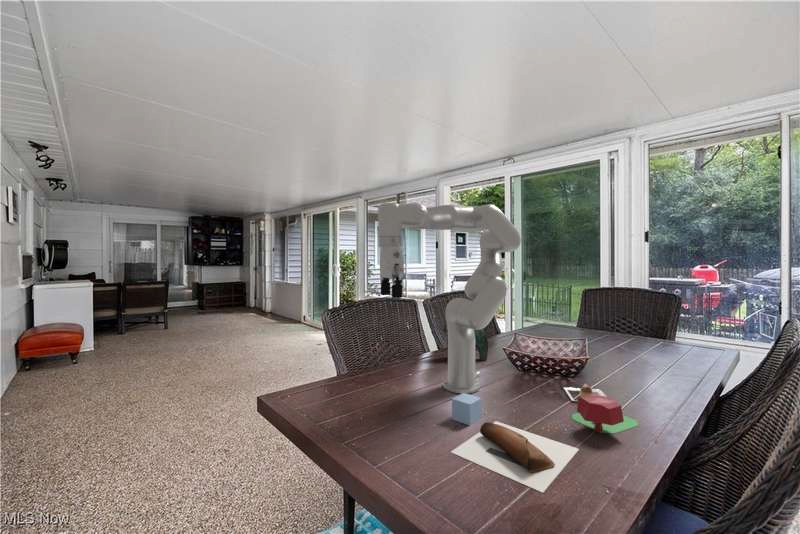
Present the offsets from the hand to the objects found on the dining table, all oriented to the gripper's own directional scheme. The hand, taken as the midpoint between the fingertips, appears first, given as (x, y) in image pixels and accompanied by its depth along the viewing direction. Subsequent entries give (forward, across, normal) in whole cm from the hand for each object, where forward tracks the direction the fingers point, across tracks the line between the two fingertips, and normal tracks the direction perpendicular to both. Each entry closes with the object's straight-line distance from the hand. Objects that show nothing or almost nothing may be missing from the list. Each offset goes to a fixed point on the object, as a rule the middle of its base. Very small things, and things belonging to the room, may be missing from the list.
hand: (391, 296), depth 117 cm
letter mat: (+34, -40, -16) cm, 55 cm away
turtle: (+34, -38, -47) cm, 70 cm away
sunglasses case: (+34, -40, -16) cm, 55 cm away
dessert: (+35, -22, -60) cm, 73 cm away
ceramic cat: (+34, +32, -48) cm, 67 cm away
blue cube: (+34, -21, -15) cm, 42 cm away
